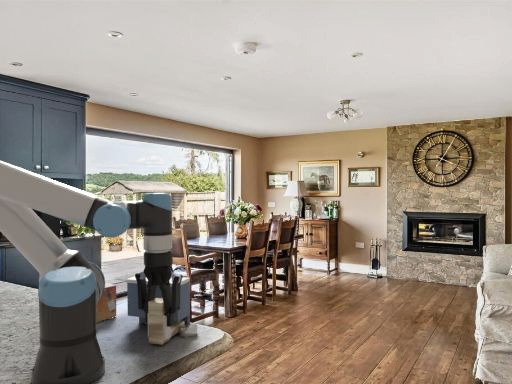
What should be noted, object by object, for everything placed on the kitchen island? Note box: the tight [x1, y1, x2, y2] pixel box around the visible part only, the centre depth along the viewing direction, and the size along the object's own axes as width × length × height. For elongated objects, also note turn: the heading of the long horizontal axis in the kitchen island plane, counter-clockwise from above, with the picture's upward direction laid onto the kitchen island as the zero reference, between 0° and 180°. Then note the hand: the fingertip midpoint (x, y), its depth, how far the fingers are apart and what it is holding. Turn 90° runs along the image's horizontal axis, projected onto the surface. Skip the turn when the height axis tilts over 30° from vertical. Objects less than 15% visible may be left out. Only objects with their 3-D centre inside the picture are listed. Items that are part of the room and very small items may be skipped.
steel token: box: [178, 322, 198, 339], centre depth 118 cm, size 5×5×2 cm
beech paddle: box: [148, 298, 184, 346], centre depth 115 cm, size 13×4×11 cm, turn 161°
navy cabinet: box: [125, 275, 191, 324], centre depth 122 cm, size 8×17×15 cm, turn 70°
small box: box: [96, 282, 117, 324], centre depth 132 cm, size 8×6×10 cm
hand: (159, 336), depth 111 cm, fingers closed on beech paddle, 4 cm apart
